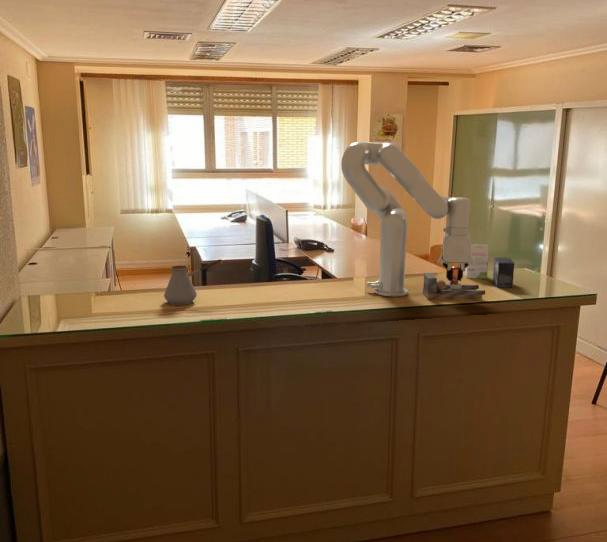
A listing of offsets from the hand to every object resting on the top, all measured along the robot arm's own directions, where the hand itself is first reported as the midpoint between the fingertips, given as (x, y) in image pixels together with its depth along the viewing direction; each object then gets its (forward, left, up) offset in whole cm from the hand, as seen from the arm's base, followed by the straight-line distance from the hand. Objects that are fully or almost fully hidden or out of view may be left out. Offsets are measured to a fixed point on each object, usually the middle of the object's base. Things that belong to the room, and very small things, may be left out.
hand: (454, 279), depth 222 cm
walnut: (-5, 0, -5) cm, 7 cm away
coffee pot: (-95, -8, -7) cm, 96 cm away
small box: (+25, +18, -7) cm, 31 cm away
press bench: (0, 0, -7) cm, 7 cm away
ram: (0, 0, -4) cm, 4 cm away
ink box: (+18, +31, -7) cm, 36 cm away
